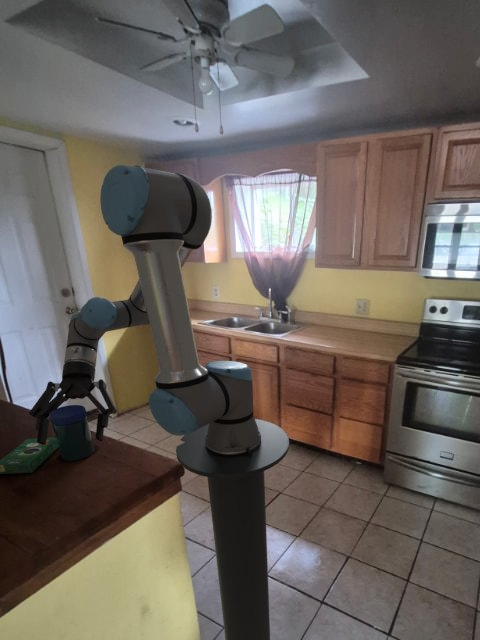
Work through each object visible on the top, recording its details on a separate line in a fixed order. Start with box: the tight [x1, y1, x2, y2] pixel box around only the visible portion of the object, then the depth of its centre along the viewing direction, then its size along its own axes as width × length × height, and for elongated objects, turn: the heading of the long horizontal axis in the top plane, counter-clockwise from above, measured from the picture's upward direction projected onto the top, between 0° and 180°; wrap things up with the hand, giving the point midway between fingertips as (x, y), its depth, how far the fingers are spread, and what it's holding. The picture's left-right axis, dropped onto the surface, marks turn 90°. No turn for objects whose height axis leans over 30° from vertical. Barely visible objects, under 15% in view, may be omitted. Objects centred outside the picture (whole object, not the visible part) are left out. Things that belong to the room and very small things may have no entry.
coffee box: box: [0, 437, 59, 475], centre depth 93 cm, size 8×3×13 cm
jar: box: [51, 416, 95, 462], centre depth 95 cm, size 8×8×12 cm
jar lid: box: [48, 404, 88, 425], centre depth 93 cm, size 8×8×2 cm
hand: (70, 441), depth 93 cm, fingers open, 13 cm apart
